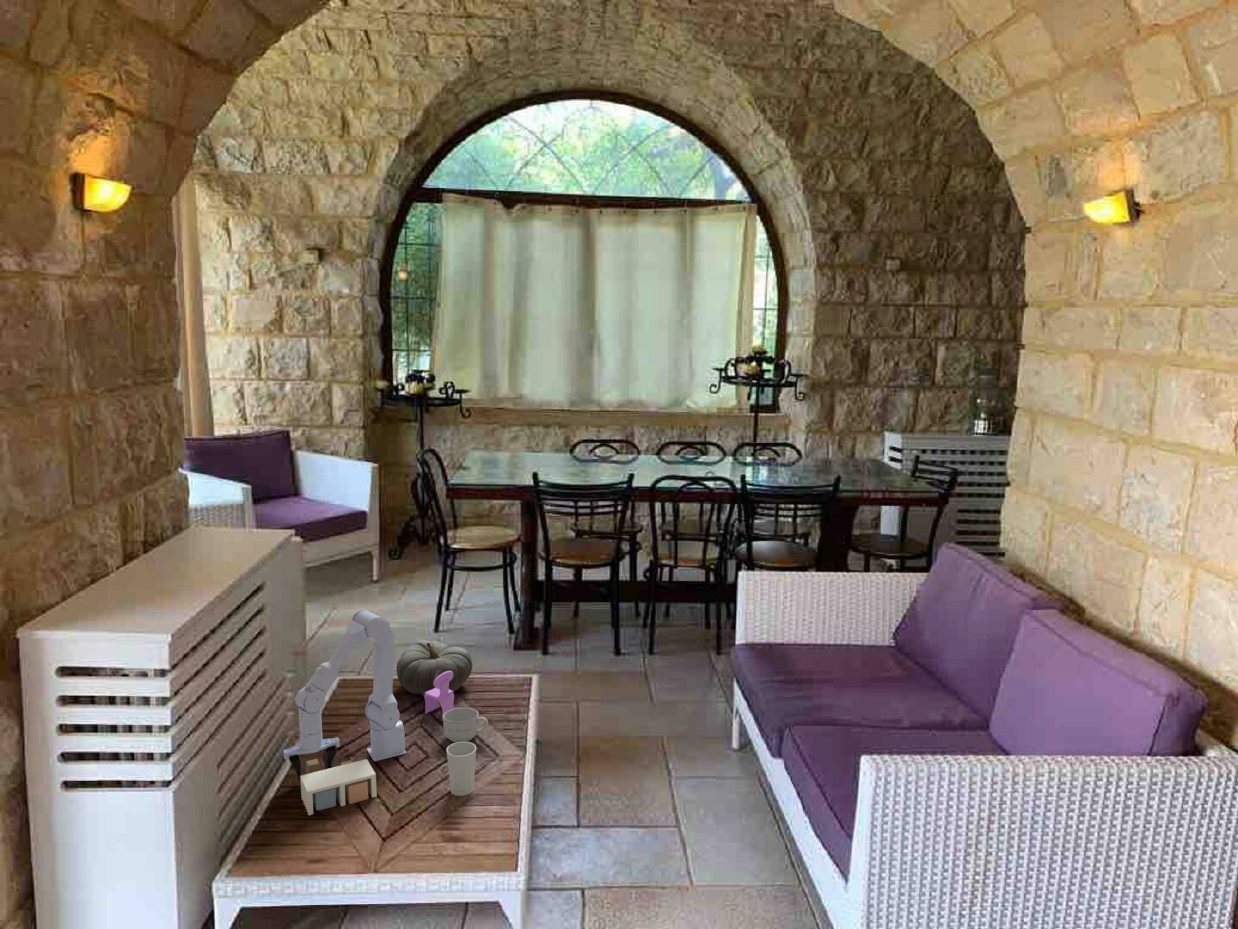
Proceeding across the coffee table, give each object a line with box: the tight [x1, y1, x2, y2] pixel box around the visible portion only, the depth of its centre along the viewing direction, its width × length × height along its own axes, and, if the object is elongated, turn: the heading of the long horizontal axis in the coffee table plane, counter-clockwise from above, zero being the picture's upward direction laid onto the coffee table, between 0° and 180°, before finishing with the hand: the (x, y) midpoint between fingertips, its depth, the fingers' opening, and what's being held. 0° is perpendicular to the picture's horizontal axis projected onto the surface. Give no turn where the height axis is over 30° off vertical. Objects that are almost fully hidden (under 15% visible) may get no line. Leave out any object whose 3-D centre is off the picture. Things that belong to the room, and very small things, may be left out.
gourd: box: [396, 639, 473, 697], centre depth 296 cm, size 25×25×17 cm
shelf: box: [300, 758, 378, 816], centre depth 230 cm, size 18×9×7 cm, turn 121°
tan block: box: [340, 759, 369, 805], centre depth 234 cm, size 5×12×6 cm, turn 31°
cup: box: [445, 741, 477, 797], centre depth 234 cm, size 8×8×12 cm
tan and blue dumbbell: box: [305, 758, 337, 812], centre depth 232 cm, size 5×17×6 cm, turn 31°
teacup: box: [442, 707, 489, 743], centre depth 262 cm, size 14×11×8 cm
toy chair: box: [423, 671, 455, 721], centre depth 278 cm, size 8×9×15 cm
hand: (313, 776), depth 238 cm, fingers open, 7 cm apart
